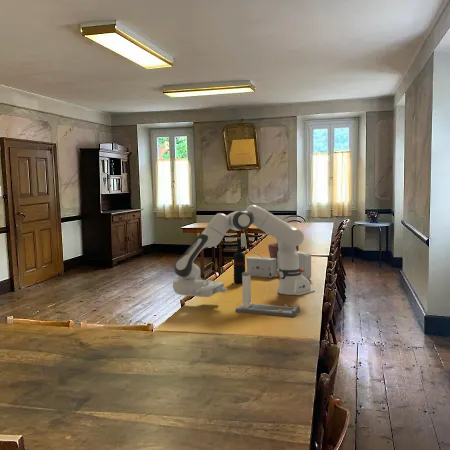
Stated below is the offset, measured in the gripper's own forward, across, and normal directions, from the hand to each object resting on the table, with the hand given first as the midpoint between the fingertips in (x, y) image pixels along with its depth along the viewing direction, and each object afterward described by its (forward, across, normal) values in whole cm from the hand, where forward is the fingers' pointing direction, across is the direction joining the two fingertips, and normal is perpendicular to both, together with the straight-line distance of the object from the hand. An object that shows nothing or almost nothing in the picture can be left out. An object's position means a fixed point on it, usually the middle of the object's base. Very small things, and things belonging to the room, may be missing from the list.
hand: (225, 290), depth 237 cm
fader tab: (+12, 0, +7) cm, 14 cm away
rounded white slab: (+15, +88, +10) cm, 90 cm away
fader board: (+23, 0, +9) cm, 25 cm away
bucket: (0, +118, +10) cm, 118 cm away
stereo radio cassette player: (-8, +85, +10) cm, 86 cm away
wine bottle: (-14, +60, +10) cm, 63 cm away
